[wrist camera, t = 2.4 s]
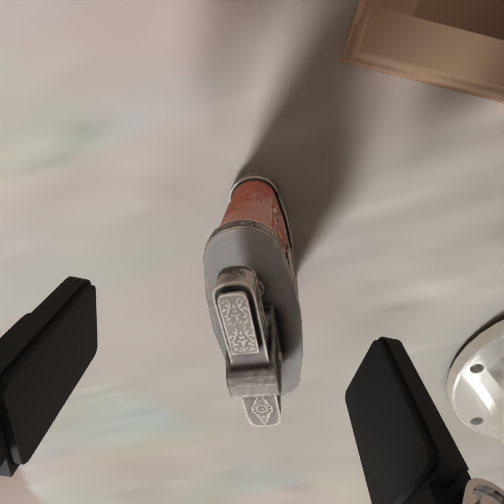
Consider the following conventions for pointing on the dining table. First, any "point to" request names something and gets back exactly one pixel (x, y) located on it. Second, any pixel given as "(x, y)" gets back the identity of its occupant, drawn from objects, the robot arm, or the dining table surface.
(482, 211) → the dining table surface
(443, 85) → the lighter dock
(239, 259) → the lighter
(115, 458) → the dining table surface
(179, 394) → the dining table surface
